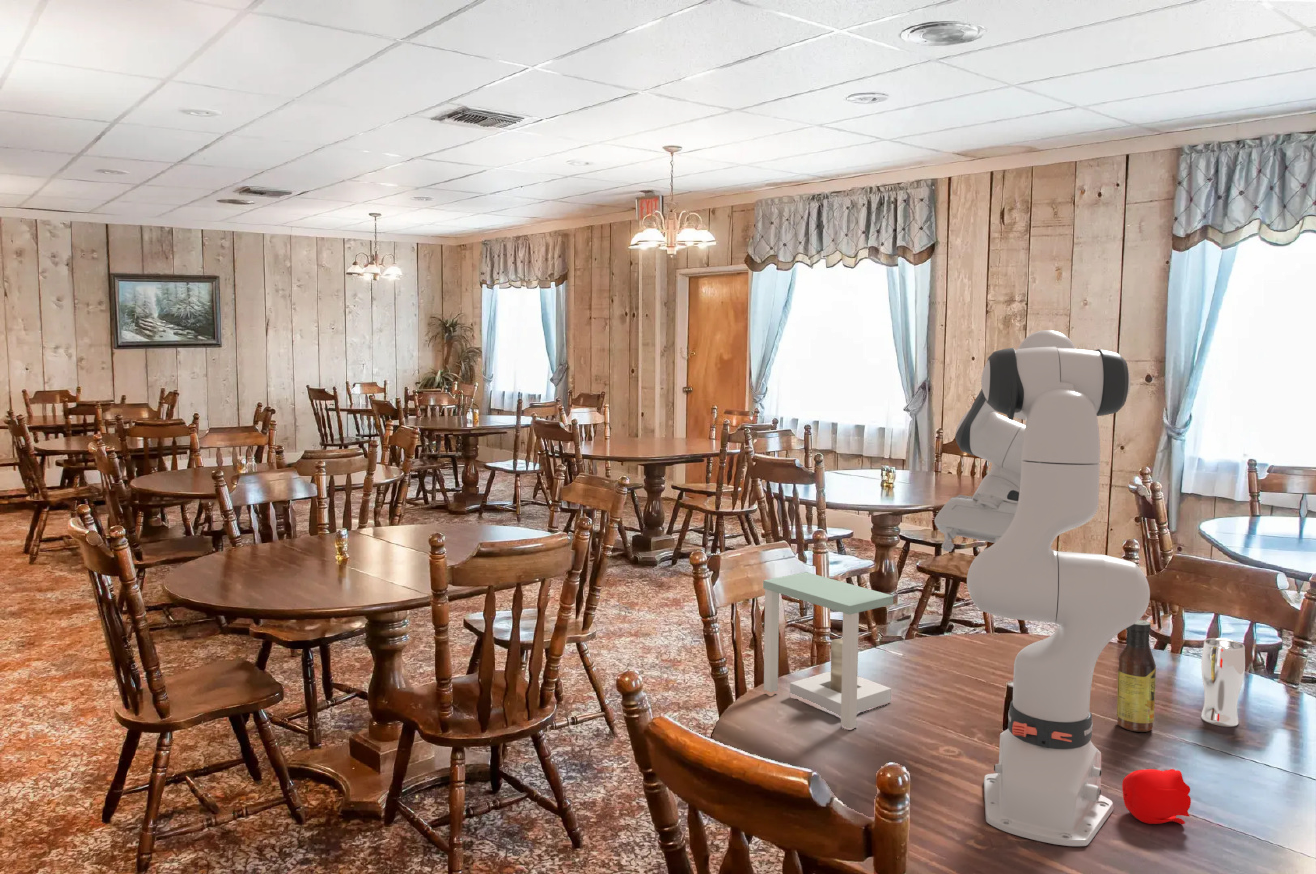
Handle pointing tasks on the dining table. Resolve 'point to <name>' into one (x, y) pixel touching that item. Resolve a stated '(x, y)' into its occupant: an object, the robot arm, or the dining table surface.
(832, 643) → the birch peg
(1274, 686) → the dining table surface
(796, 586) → the small side table
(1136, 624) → the sauce bottle
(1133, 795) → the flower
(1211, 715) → the beer glass
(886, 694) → the socket plate
